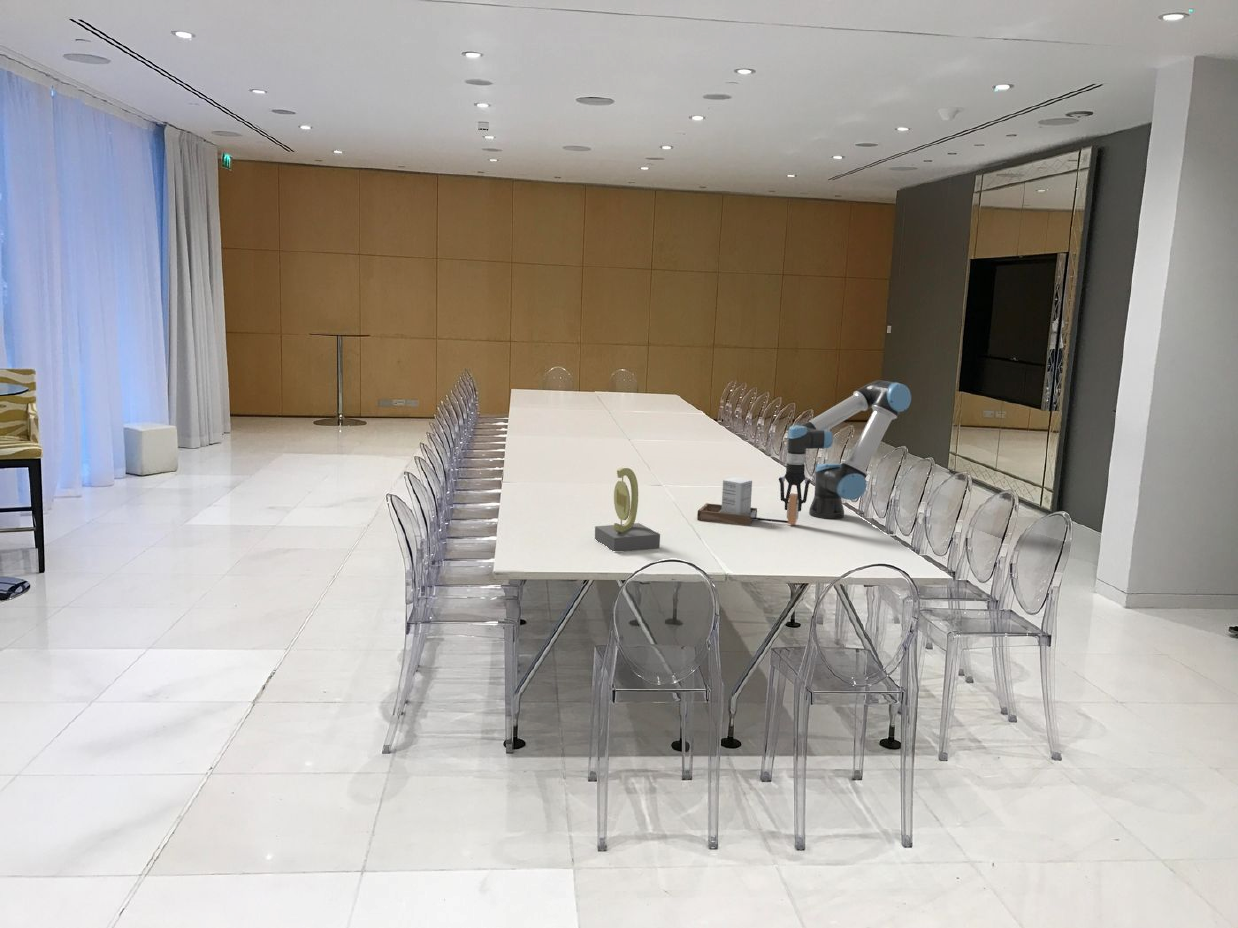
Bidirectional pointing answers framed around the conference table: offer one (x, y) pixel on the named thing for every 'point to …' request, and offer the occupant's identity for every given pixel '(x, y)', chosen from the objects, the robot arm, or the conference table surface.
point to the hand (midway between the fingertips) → (792, 518)
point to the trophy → (630, 532)
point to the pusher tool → (791, 512)
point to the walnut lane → (722, 515)
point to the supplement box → (736, 496)
